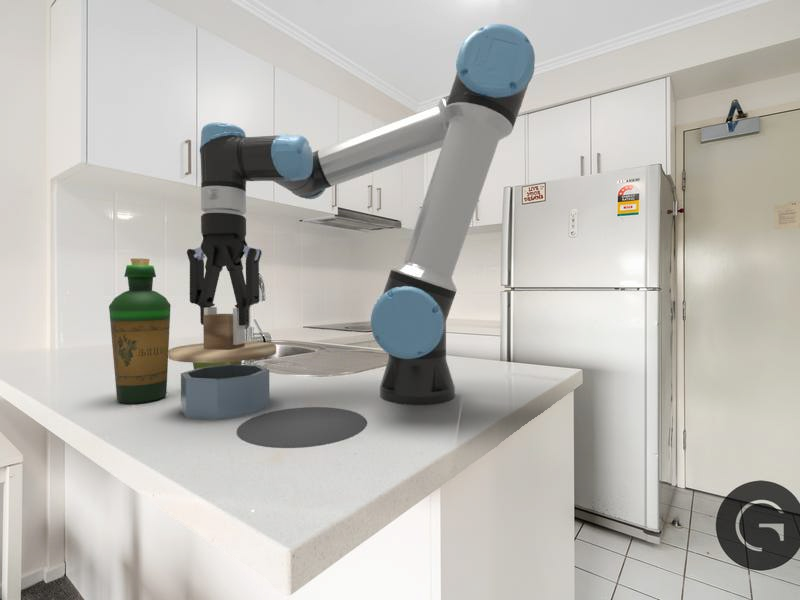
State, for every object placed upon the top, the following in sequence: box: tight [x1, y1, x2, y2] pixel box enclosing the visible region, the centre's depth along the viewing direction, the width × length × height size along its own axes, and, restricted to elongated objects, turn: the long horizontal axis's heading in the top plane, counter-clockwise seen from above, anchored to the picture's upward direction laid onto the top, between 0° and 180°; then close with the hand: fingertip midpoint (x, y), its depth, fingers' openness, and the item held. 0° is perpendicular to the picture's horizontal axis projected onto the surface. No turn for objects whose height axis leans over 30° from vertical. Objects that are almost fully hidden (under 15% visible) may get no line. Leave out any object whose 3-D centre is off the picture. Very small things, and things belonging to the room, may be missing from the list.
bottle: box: [108, 258, 172, 405], centre depth 86 cm, size 11×11×28 cm
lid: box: [168, 313, 277, 364], centre depth 78 cm, size 18×18×7 cm
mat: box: [236, 406, 368, 449], centre depth 68 cm, size 20×20×1 cm
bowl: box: [180, 364, 271, 421], centre depth 78 cm, size 14×14×7 cm
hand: (224, 343), depth 78 cm, fingers closed on lid, 5 cm apart
